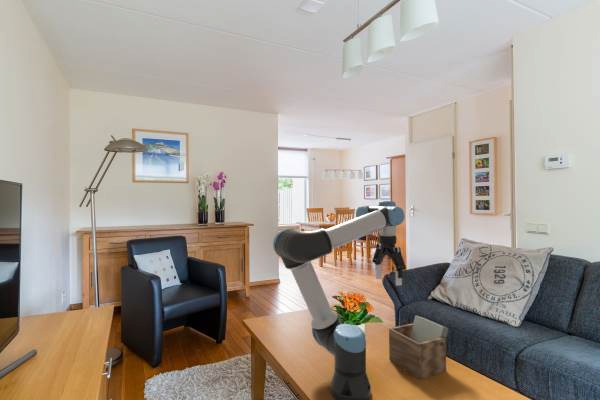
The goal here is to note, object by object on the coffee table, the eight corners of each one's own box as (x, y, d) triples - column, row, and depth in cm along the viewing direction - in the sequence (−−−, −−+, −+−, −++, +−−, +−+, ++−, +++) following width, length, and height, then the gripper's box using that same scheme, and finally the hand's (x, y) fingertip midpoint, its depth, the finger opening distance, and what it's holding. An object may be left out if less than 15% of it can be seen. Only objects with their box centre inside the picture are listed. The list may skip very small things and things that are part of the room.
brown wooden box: (420, 380, 128) (420, 345, 128) (388, 359, 146) (388, 328, 146) (447, 371, 134) (446, 338, 134) (413, 352, 152) (413, 322, 152)
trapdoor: (439, 370, 135) (431, 368, 134) (413, 354, 149) (405, 353, 147) (449, 329, 138) (441, 326, 136) (422, 317, 152) (415, 315, 150)
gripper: (414, 237, 137) (414, 287, 137) (377, 232, 159) (377, 275, 159) (400, 238, 134) (401, 289, 134) (364, 233, 156) (365, 276, 156)
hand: (388, 281), depth 147 cm, fingers open, 13 cm apart
